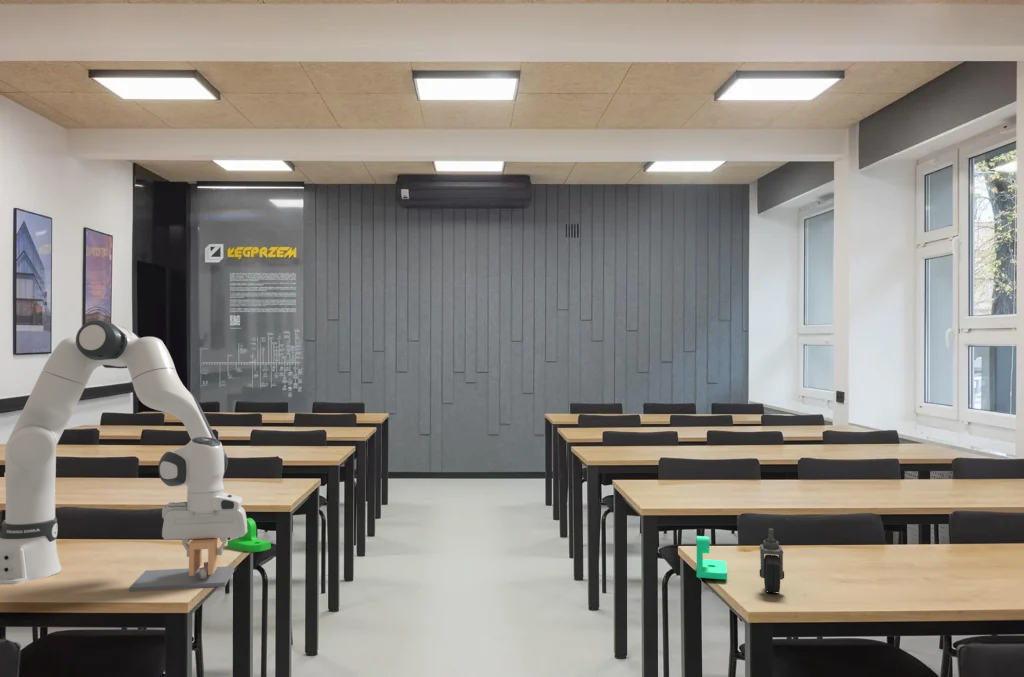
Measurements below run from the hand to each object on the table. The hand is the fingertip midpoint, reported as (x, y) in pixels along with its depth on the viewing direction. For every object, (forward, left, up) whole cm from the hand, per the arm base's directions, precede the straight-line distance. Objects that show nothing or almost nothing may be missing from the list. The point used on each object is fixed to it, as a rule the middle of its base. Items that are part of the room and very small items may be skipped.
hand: (205, 555), depth 192 cm
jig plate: (-5, 0, -7) cm, 8 cm away
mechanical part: (+6, +32, -7) cm, 33 cm away
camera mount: (+131, -19, -7) cm, 132 cm away
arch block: (0, 0, -4) cm, 4 cm away
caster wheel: (+139, -35, -7) cm, 144 cm away
